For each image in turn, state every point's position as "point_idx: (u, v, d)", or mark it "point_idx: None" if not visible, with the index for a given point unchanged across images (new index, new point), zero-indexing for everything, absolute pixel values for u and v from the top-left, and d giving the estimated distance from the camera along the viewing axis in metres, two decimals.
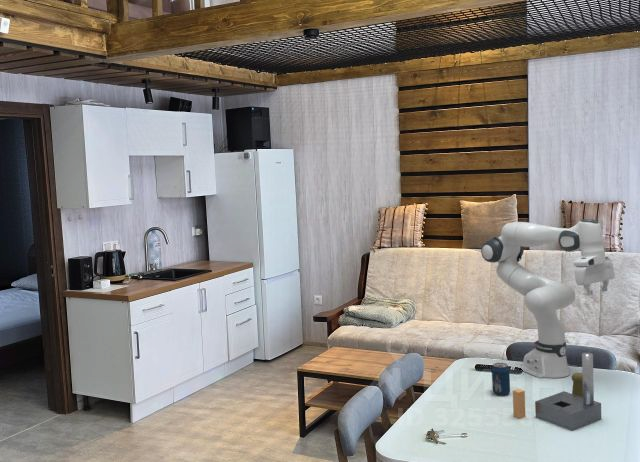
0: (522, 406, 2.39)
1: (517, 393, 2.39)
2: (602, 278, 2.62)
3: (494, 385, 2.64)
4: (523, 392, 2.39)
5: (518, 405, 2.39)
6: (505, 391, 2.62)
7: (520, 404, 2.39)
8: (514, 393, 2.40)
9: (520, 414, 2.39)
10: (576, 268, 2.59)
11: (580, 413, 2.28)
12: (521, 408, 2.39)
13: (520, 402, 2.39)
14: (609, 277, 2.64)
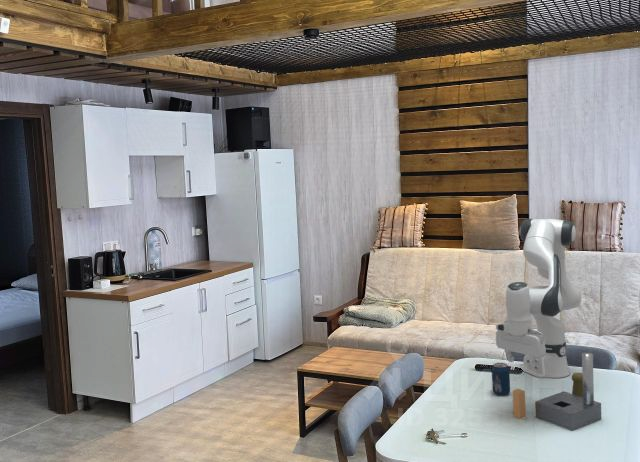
0: (522, 406, 2.39)
1: (517, 393, 2.39)
2: (521, 350, 2.36)
3: (494, 385, 2.64)
4: (523, 392, 2.39)
5: (518, 405, 2.39)
6: (505, 391, 2.62)
7: (520, 404, 2.39)
8: (514, 393, 2.40)
9: (520, 414, 2.39)
10: None
11: (580, 413, 2.28)
12: (521, 408, 2.39)
13: (520, 402, 2.39)
14: (530, 353, 2.32)
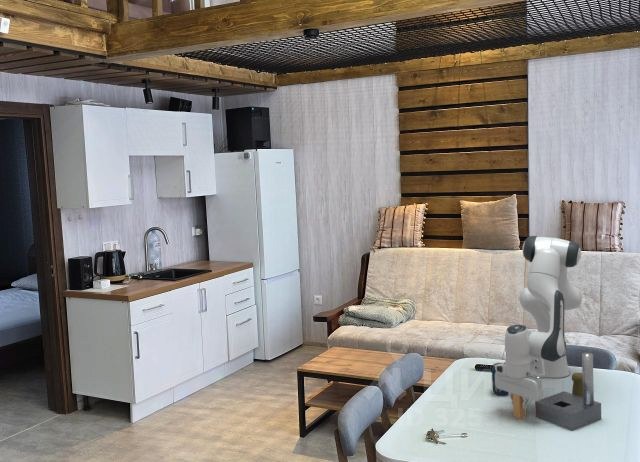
0: None
1: None
2: (519, 393, 2.38)
3: (494, 385, 2.64)
4: None
5: (518, 405, 2.39)
6: (505, 391, 2.62)
7: (520, 404, 2.39)
8: None
9: (520, 414, 2.39)
10: None
11: (580, 413, 2.28)
12: (521, 408, 2.39)
13: (520, 402, 2.39)
14: (528, 396, 2.34)
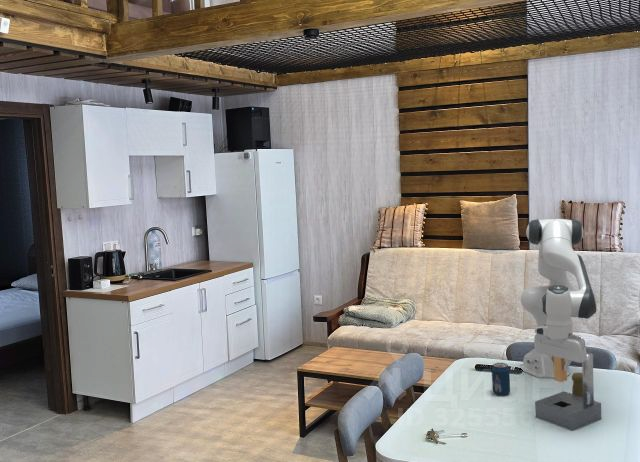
0: None
1: None
2: (560, 355, 2.31)
3: (494, 385, 2.64)
4: None
5: (559, 368, 2.32)
6: (505, 391, 2.62)
7: None
8: None
9: (561, 377, 2.32)
10: None
11: (580, 413, 2.28)
12: (562, 371, 2.32)
13: (561, 365, 2.32)
14: (570, 358, 2.27)
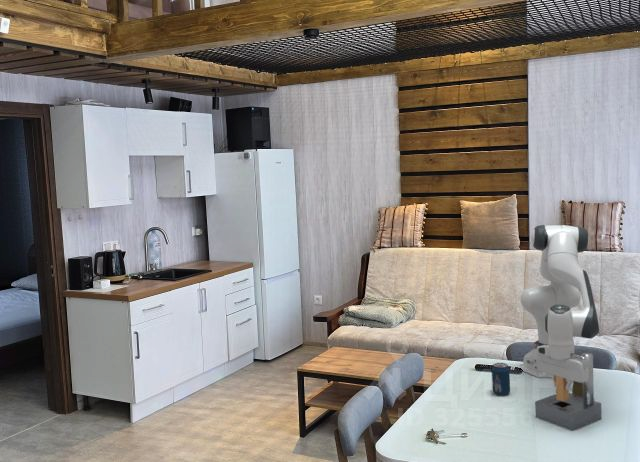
0: None
1: None
2: (562, 374, 2.31)
3: (494, 385, 2.64)
4: None
5: (561, 387, 2.32)
6: (505, 391, 2.62)
7: None
8: None
9: (563, 397, 2.32)
10: None
11: (580, 413, 2.28)
12: (564, 391, 2.33)
13: (563, 385, 2.32)
14: (572, 378, 2.28)
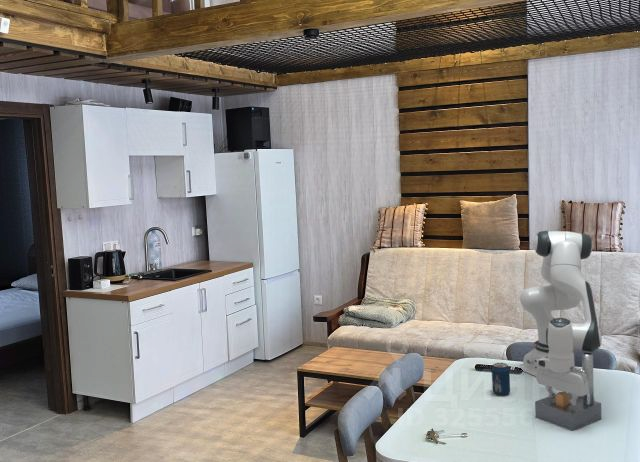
0: None
1: (561, 396, 2.33)
2: (562, 388, 2.32)
3: (494, 385, 2.64)
4: (567, 395, 2.34)
5: None
6: (505, 391, 2.62)
7: None
8: (557, 396, 2.34)
9: None
10: None
11: (580, 413, 2.28)
12: None
13: (563, 406, 2.33)
14: (572, 391, 2.28)
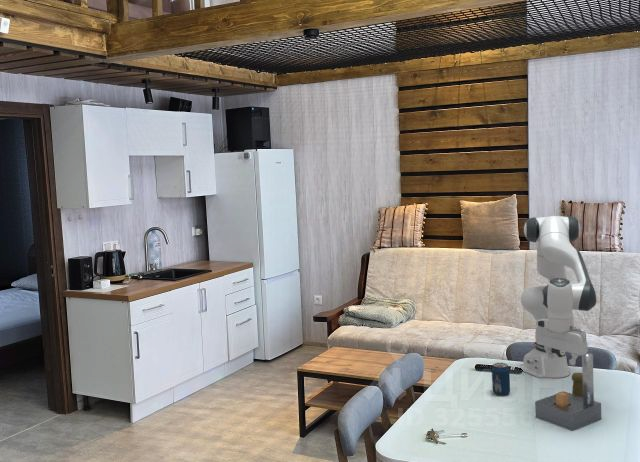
0: None
1: (560, 396, 2.33)
2: (561, 347, 2.32)
3: (494, 385, 2.64)
4: (567, 395, 2.34)
5: None
6: (505, 391, 2.62)
7: None
8: (557, 396, 2.34)
9: None
10: None
11: (580, 413, 2.28)
12: None
13: (563, 406, 2.33)
14: (571, 351, 2.28)
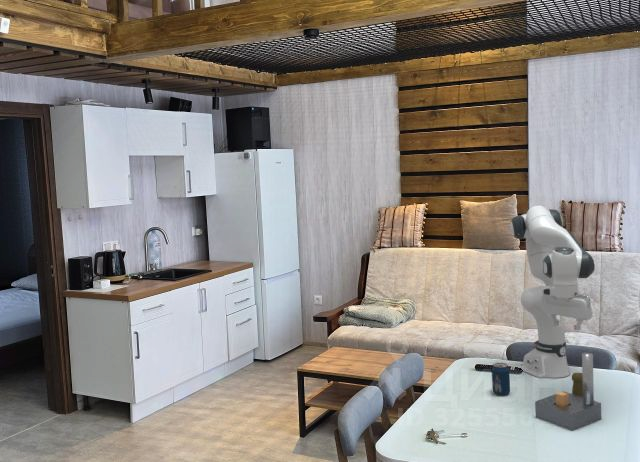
0: None
1: (560, 396, 2.33)
2: (567, 313, 2.40)
3: (494, 385, 2.64)
4: (567, 395, 2.34)
5: None
6: (505, 391, 2.62)
7: None
8: (557, 396, 2.34)
9: None
10: None
11: (580, 413, 2.28)
12: None
13: (563, 406, 2.33)
14: (576, 316, 2.36)
